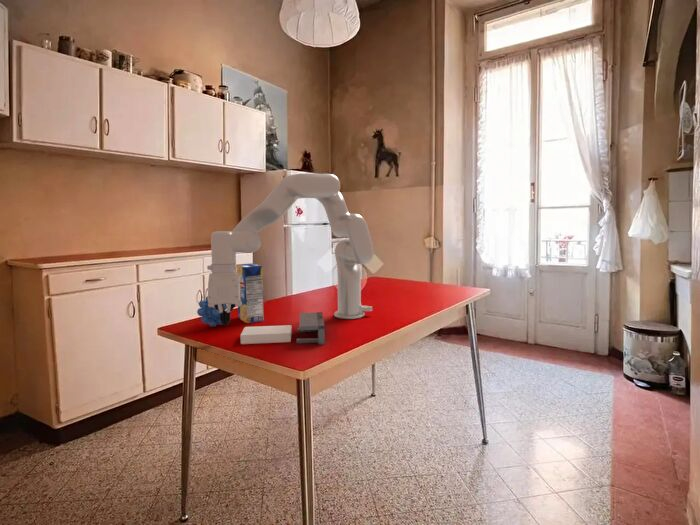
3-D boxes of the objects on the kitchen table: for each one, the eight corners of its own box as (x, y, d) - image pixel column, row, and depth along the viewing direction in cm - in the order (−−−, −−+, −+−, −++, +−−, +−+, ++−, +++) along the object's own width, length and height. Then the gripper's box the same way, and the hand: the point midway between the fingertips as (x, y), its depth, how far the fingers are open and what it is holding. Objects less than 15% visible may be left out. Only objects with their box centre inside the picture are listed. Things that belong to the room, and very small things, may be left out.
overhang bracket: (322, 328, 144) (322, 312, 144) (324, 344, 127) (324, 325, 126) (297, 329, 143) (297, 313, 143) (296, 345, 126) (296, 326, 125)
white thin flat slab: (291, 333, 139) (291, 325, 139) (290, 341, 130) (290, 333, 129) (245, 335, 137) (244, 326, 137) (240, 344, 128) (240, 335, 127)
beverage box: (247, 323, 153) (244, 267, 150) (238, 317, 162) (236, 264, 159) (263, 320, 156) (262, 265, 154) (254, 315, 165) (252, 263, 163)
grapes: (202, 332, 142) (200, 299, 140) (195, 328, 147) (193, 296, 145) (233, 326, 149) (231, 294, 148) (225, 322, 154) (224, 292, 153)
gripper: (197, 270, 125) (199, 327, 126) (245, 270, 126) (247, 326, 128) (203, 267, 132) (205, 321, 134) (249, 267, 134) (250, 320, 136)
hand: (225, 323), depth 131 cm, fingers closed
